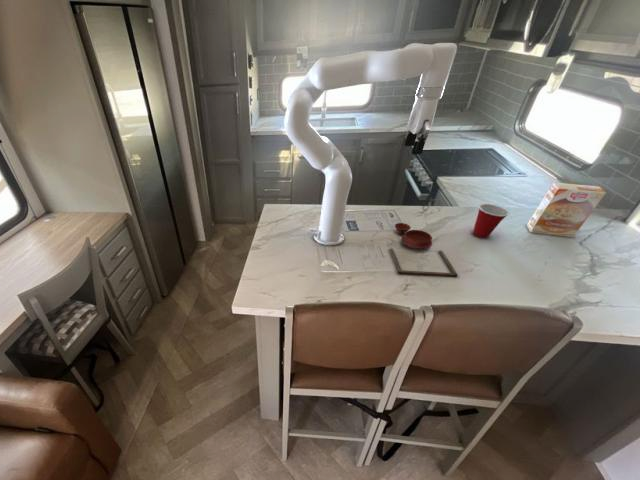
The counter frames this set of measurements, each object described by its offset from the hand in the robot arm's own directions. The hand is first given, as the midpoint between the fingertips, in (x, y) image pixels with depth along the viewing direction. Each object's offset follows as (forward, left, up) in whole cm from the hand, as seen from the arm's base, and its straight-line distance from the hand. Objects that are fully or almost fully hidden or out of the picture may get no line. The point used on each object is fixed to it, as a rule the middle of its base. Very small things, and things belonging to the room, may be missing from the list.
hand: (412, 149), depth 112 cm
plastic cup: (+41, +8, -37) cm, 56 cm away
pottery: (+10, +1, -37) cm, 38 cm away
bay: (+10, -16, -37) cm, 41 cm away
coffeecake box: (+70, +13, -37) cm, 80 cm away
